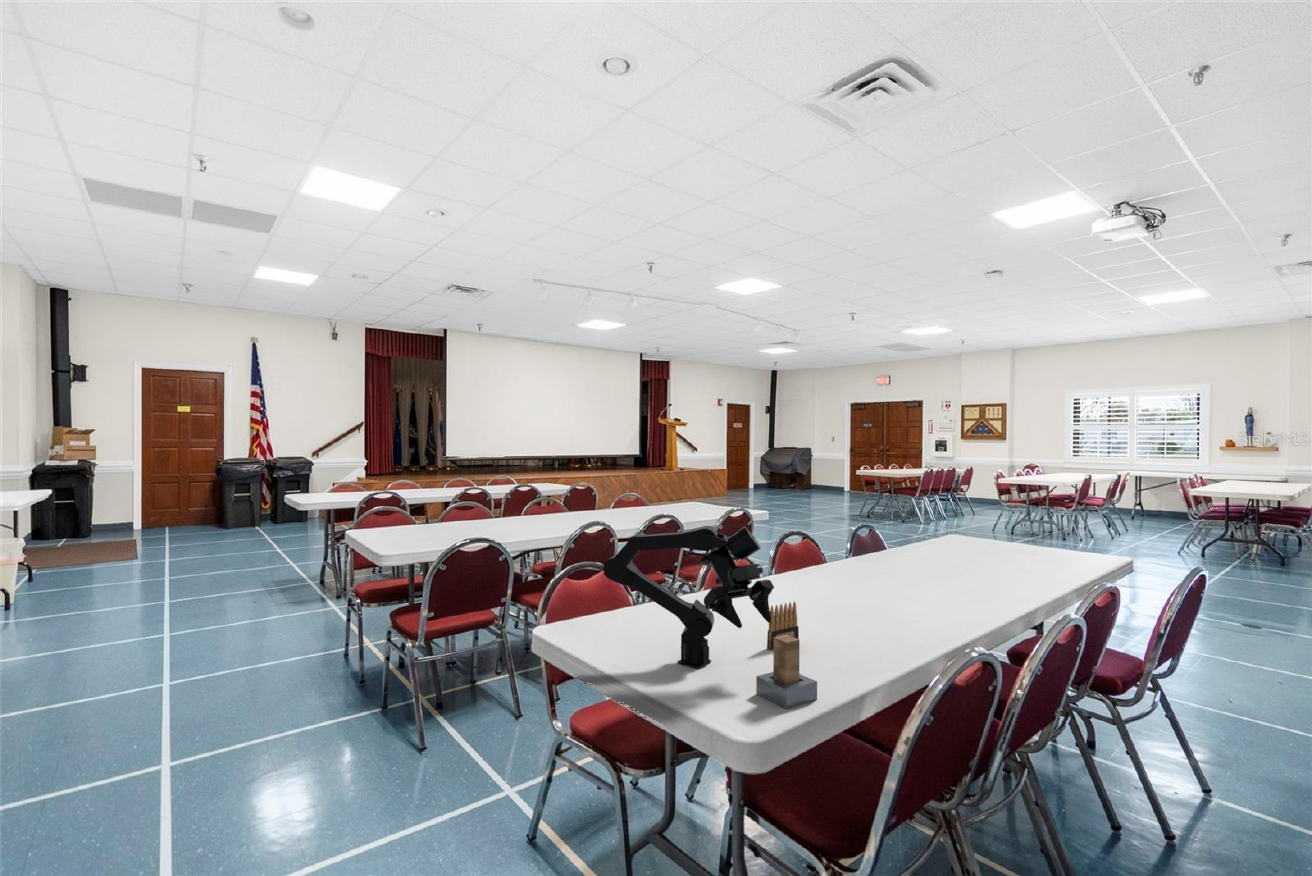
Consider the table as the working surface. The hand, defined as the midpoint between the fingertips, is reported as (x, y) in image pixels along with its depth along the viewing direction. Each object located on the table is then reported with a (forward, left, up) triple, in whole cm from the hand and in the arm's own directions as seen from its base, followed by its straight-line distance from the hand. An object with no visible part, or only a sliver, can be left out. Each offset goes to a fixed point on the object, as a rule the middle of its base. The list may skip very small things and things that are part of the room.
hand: (755, 624), depth 146 cm
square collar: (+10, -4, -14) cm, 17 cm away
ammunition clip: (-6, +28, -14) cm, 32 cm away
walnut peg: (+10, -4, -14) cm, 17 cm away
